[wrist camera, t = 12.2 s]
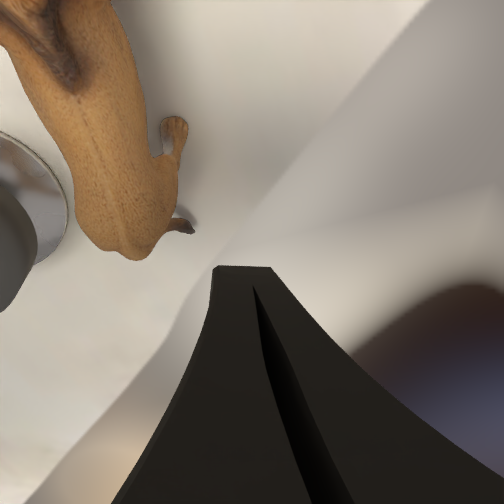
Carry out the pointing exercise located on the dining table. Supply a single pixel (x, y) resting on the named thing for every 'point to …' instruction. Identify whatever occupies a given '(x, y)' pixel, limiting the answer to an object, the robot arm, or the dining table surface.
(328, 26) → the dining table surface
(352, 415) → the robot arm
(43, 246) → the axle mount
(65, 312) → the dining table surface
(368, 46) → the dining table surface
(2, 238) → the wheel
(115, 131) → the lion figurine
